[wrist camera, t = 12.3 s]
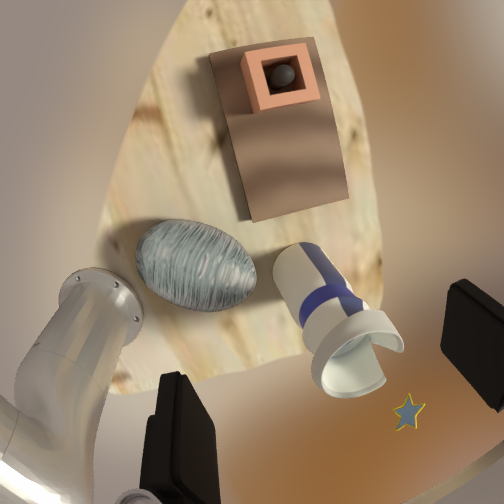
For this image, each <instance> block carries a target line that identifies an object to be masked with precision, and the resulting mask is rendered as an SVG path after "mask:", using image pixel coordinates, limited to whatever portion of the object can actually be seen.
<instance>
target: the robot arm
mask: <svg viewBox="0 0 504 504" xmlns="http://www.w3.org/2000/svg"><path fill="white" fill-rule="evenodd" d="M116 282H117V283H116ZM142 322H143V310H142V306H141V303H140V301H139V298H138V296H137V295H136V293H135V292H134V290H133V289H132V288H131V287H130V285H129V284H128V283H127V282H126V281H124V280H123V279H122V278H120V277H119V276H117V275H116V274H114V273H112V272H110V271H107V270H104V269H99V268H85V269H82V270H78V271H76V272H75V273H73V274H72V275H71V276H69V277H68V278H67V279H66V281H65V282H64V283H63V285H62V287H61V289H60V294H59V309H58V310H57V312H56V313H55V314H54V316H53V317H52V318H51V320H50V321H49V323H48V324H47V326H46V327H45V328H44V330H43V331H42V333H41V334H40V336H39V337H38V339H37V340H36V342H35V343H34V345H33V346H32V348H31V349H30V351H29V352H28V354H27V355H26V357H25V358H24V360H23V361H22V363H21V364H20V367H19V369H18V371H17V374H16V377H15V384H14V400H15V407H14V406H13V405H12V404H10V403H9V402H8V401H7V400H6V399H5V398H4V397H3V396H1V395H0V504H93V502H94V470H93V460H94V446H95V439H96V434H97V430H98V425H99V421H100V417H101V414H102V410H103V406H104V404H105V400H106V397H107V394H108V390H109V387H110V384H111V381H112V377H113V374H114V371H115V368H116V365H117V362H118V359H119V356H120V353H121V350H122V347H124V346H127V345H128V344H130V343H131V342H132V341H133V340H134V339H135V338H136V337H137V336H138V334H139V332H140V329H141V326H142ZM440 346H441V350H442V352H443V354H444V355H445V356H446V357H447V358H448V359H449V360H450V362H451V363H452V364H453V365H454V366H455V367H456V368H457V369H458V371H459V372H460V373H461V374H462V375H463V376H464V377H465V378H466V380H467V381H468V382H469V383H470V384H471V386H472V387H473V388H474V389H475V390H476V391H477V392H478V394H479V395H480V396H481V397H482V399H483V400H484V401H485V402H486V403H487V405H488V406H489V407H490V408H494V409H495V410H496V411H497V413H499V412H500V411H501V410H503V409H504V306H502V305H501V304H500V303H499V302H497V301H496V300H494V299H493V298H492V297H490V296H489V295H488V294H486V293H485V292H484V291H482V290H481V289H480V288H478V287H477V286H475V285H474V284H473V283H471V282H470V281H468V280H467V279H461V280H459V281H457V282H455V283H453V284H451V286H450V289H449V290H448V294H447V304H446V311H445V319H444V326H443V333H442V338H441V344H440ZM115 504H221V499H220V488H219V476H218V464H217V450H216V434H215V426H214V423H213V421H212V419H211V418H210V416H209V414H208V413H207V411H206V409H205V407H204V406H203V404H202V402H201V400H200V399H199V397H198V395H197V393H196V392H195V390H194V388H193V386H192V384H191V382H190V380H189V379H188V377H187V375H186V374H184V375H181V374H180V372H179V371H176V372H171V373H166V374H162V375H161V377H160V382H159V389H158V396H157V403H156V411H155V415H151V416H150V417H149V418H148V421H147V426H146V434H145V441H144V449H143V457H142V466H141V476H140V485H139V489H132V490H128V491H126V492H124V493H123V494H122V495H121V496H120V497H118V499H117V500H116V502H115ZM401 504H504V440H503V441H502V442H501V443H499V444H498V445H497V446H496V447H494V448H493V449H492V450H490V451H489V452H488V453H486V454H485V455H483V456H482V457H480V458H479V459H478V460H476V461H475V462H473V463H472V464H470V465H469V466H467V467H466V468H464V469H463V470H461V471H460V472H458V473H456V474H455V475H453V476H451V477H450V478H448V479H446V480H445V481H443V482H441V483H440V484H438V485H436V486H434V487H432V488H431V489H429V490H427V491H425V492H423V493H422V494H419V495H417V496H415V497H413V498H411V499H410V500H407V501H405V502H403V503H401Z"/></svg>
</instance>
